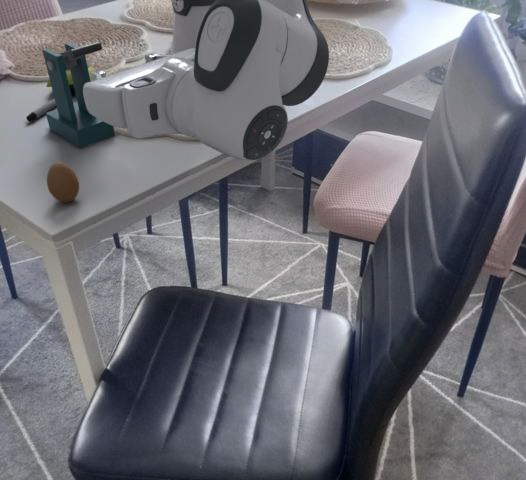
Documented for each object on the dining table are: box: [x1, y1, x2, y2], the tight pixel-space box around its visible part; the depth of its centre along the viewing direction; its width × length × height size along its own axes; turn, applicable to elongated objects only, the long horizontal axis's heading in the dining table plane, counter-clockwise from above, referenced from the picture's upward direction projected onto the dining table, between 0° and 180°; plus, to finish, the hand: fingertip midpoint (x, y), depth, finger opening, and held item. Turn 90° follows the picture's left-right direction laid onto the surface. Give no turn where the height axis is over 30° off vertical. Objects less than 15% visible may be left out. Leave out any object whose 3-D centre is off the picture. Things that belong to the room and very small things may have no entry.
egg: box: [46, 161, 80, 203], centre depth 87 cm, size 4×4×6 cm
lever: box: [58, 41, 103, 70], centre depth 94 cm, size 10×5×2 cm, turn 44°
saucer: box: [46, 66, 97, 88], centre depth 118 cm, size 9×9×2 cm
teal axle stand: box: [42, 41, 116, 149], centre depth 100 cm, size 10×7×14 cm
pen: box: [26, 86, 76, 122], centre depth 113 cm, size 1×16×1 cm, turn 158°
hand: (122, 67), depth 86 cm, fingers open, 8 cm apart
